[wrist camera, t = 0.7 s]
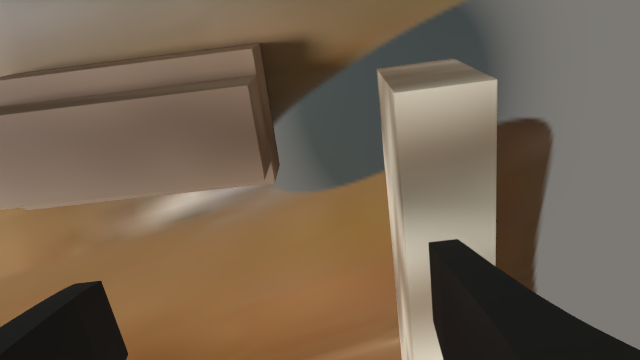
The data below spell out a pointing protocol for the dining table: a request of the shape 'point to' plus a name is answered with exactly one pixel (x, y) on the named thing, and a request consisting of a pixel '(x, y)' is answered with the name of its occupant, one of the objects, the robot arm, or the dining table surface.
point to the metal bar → (436, 178)
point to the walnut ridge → (136, 129)
